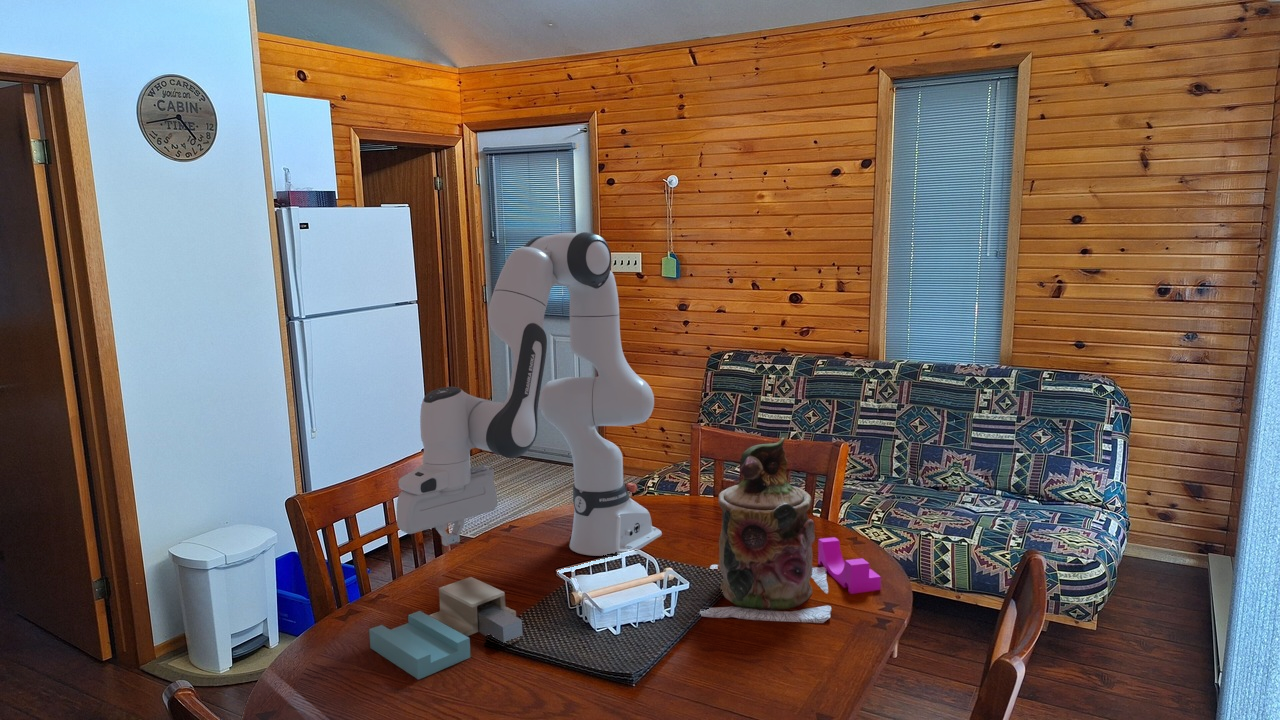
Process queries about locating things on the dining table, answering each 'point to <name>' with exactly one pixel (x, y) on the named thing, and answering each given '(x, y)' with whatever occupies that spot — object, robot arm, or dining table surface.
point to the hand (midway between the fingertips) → (451, 543)
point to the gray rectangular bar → (498, 622)
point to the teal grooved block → (420, 645)
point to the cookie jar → (767, 543)
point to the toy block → (847, 568)
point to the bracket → (467, 604)
